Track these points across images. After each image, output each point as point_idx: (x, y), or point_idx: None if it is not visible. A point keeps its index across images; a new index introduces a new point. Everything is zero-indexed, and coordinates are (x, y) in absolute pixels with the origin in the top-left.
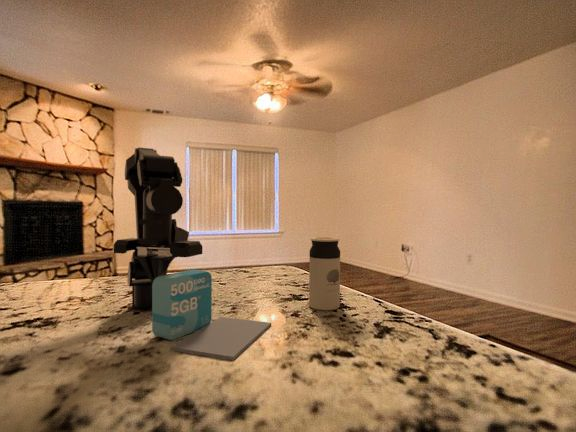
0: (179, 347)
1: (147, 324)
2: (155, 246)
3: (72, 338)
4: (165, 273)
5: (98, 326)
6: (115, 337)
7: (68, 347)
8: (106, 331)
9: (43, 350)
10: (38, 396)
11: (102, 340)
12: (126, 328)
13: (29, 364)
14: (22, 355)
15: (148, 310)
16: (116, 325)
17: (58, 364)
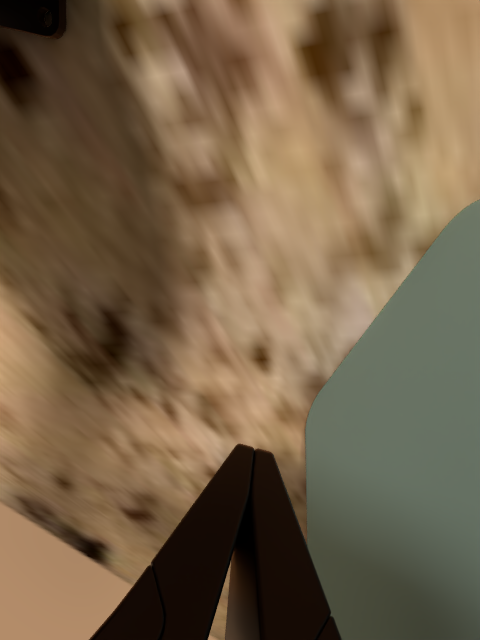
0: None
1: (202, 270)
2: None
3: (39, 414)
4: (321, 595)
5: (15, 310)
6: (167, 407)
7: (90, 467)
8: (91, 358)
9: (47, 480)
10: (222, 614)
11: (144, 428)
12: (142, 325)
13: (93, 533)
14: (31, 499)
15: (61, 30)
16: (74, 294)
17: (154, 537)
